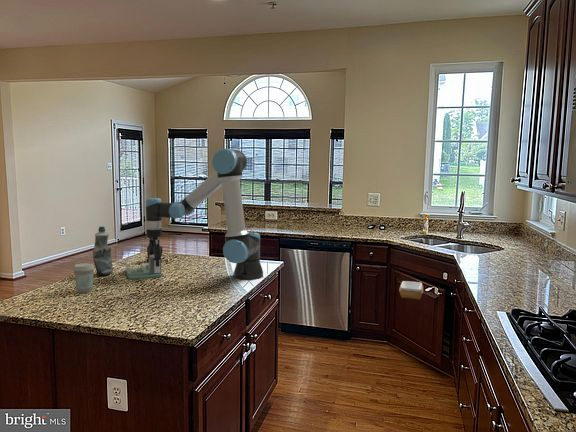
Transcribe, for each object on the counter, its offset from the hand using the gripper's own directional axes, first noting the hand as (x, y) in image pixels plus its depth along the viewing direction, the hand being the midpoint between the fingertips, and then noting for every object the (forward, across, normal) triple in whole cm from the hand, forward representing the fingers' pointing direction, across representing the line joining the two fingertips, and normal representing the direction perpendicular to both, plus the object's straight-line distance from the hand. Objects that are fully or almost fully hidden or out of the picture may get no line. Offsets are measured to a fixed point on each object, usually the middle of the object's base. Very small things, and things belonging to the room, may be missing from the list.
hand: (154, 269), depth 216 cm
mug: (+3, +31, -6) cm, 32 cm away
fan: (+2, +12, 0) cm, 12 cm away
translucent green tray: (+3, +5, +5) cm, 8 cm away
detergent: (+3, +10, +23) cm, 26 cm away
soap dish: (+3, -83, -96) cm, 127 cm away
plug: (+2, 0, 0) cm, 2 cm away
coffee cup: (+3, -17, +33) cm, 37 cm away
